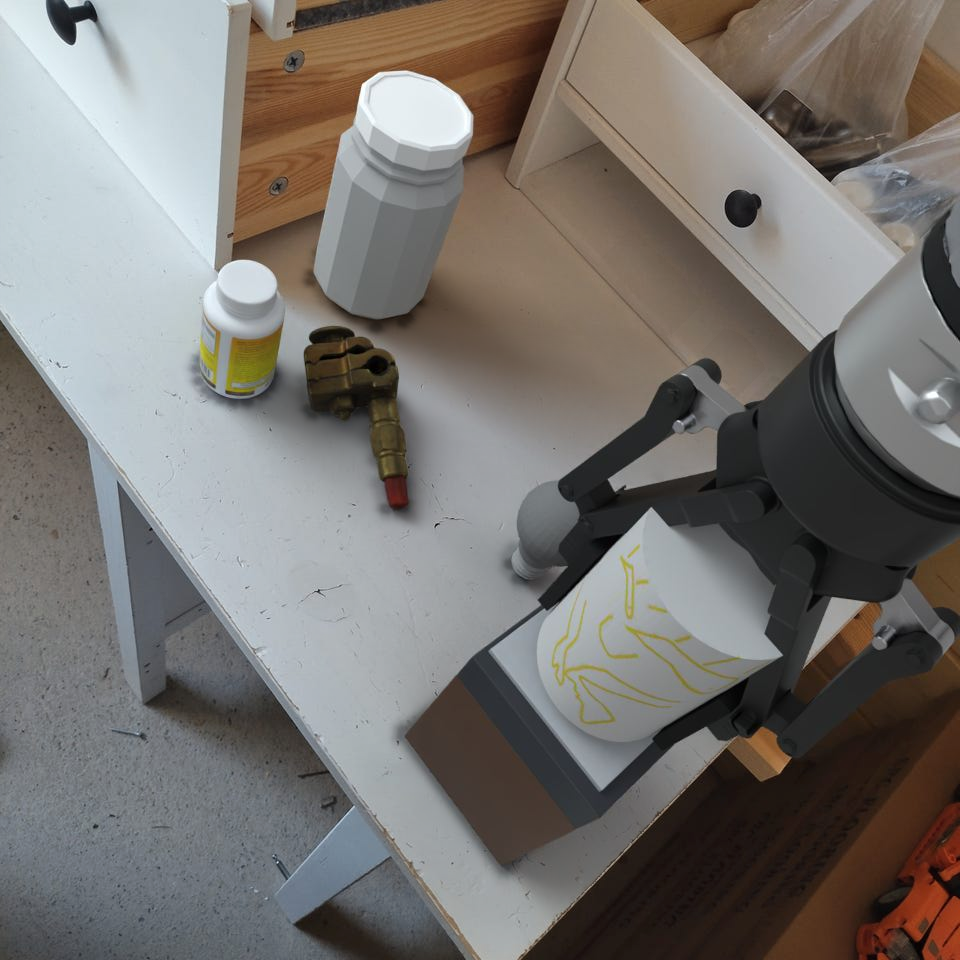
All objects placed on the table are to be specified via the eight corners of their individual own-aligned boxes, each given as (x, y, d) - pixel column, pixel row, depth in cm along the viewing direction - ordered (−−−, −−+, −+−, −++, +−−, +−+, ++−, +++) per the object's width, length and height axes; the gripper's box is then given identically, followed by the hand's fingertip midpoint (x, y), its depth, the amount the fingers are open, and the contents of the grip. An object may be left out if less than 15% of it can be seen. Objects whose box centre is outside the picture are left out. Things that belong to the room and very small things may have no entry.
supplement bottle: (287, 367, 70) (305, 278, 62) (248, 414, 67) (262, 326, 59) (225, 332, 70) (235, 237, 62) (183, 377, 67) (187, 284, 58)
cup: (505, 646, 45) (603, 540, 35) (605, 564, 50) (717, 449, 40) (614, 776, 43) (750, 701, 34) (708, 678, 48) (851, 587, 38)
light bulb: (473, 545, 67) (518, 477, 59) (537, 521, 70) (588, 453, 62) (512, 614, 65) (563, 554, 57) (576, 586, 68) (634, 526, 60)
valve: (344, 531, 68) (339, 517, 63) (297, 355, 71) (289, 328, 66) (432, 508, 69) (434, 492, 64) (382, 335, 72) (380, 307, 67)
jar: (432, 328, 77) (499, 162, 62) (320, 326, 73) (362, 150, 59) (410, 243, 81) (467, 70, 67) (302, 238, 78) (338, 53, 63)
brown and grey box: (604, 768, 61) (721, 700, 49) (500, 866, 56) (602, 817, 43) (512, 652, 63) (601, 559, 51) (404, 735, 58) (473, 653, 46)
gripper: (625, 211, 28) (435, 538, 46) (1161, 760, 23) (712, 882, 42) (758, 154, 32) (535, 475, 50) (1238, 610, 27) (797, 782, 46)
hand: (615, 658), depth 46 cm, fingers closed on cup, 8 cm apart
